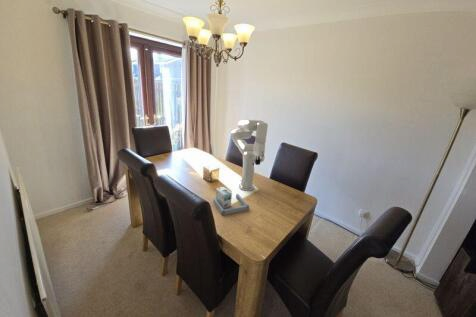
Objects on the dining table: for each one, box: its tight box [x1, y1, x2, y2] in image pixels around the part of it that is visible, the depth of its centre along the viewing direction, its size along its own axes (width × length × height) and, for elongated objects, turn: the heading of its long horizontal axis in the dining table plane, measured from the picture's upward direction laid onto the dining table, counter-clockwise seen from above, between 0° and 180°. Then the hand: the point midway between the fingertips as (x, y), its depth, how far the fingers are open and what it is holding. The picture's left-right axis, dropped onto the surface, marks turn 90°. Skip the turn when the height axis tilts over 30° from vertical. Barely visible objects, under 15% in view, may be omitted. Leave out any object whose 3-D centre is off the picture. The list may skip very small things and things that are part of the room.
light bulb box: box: [215, 186, 233, 209], centre depth 141 cm, size 11×7×11 cm, turn 38°
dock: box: [212, 193, 250, 216], centre depth 141 cm, size 17×20×3 cm
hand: (257, 164), depth 149 cm, fingers closed
